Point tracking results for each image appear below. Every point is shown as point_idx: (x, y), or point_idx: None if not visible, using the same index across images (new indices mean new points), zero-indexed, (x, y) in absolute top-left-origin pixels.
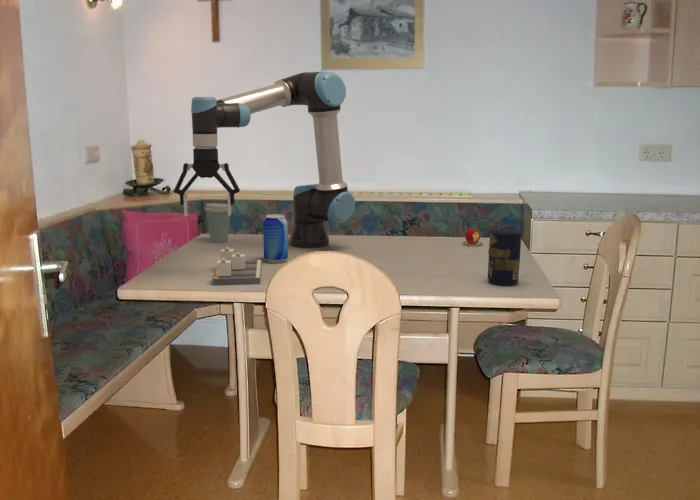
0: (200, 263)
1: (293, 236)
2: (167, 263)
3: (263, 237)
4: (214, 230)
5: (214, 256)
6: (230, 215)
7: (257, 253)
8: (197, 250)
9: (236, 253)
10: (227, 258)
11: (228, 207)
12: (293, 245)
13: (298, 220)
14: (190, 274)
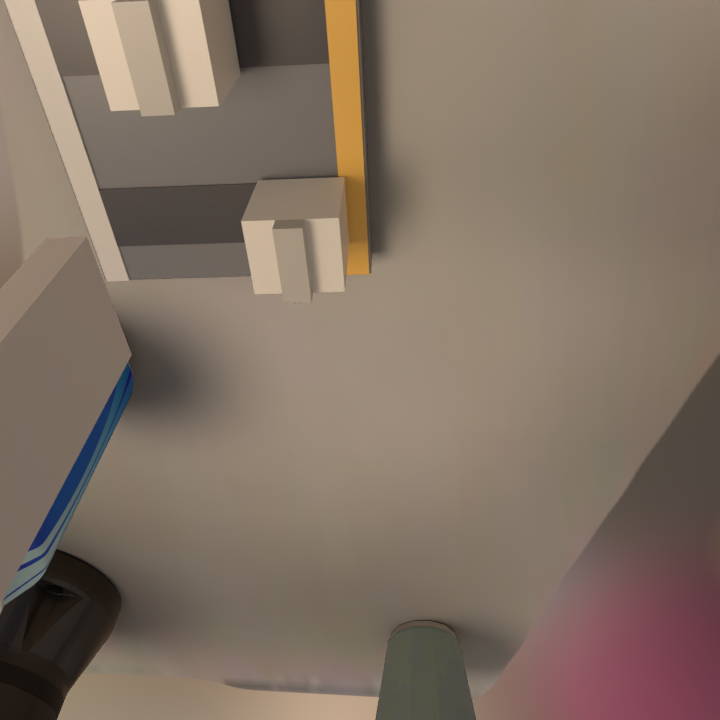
0: (492, 333)
1: (74, 608)
2: (684, 344)
3: (81, 452)
4: (442, 672)
5: (423, 450)
6: (48, 238)
7: (218, 482)
8: (511, 538)
9: (154, 39)
10: (294, 193)
11: (8, 321)
12: (88, 566)
13: (12, 684)
14: (560, 63)
